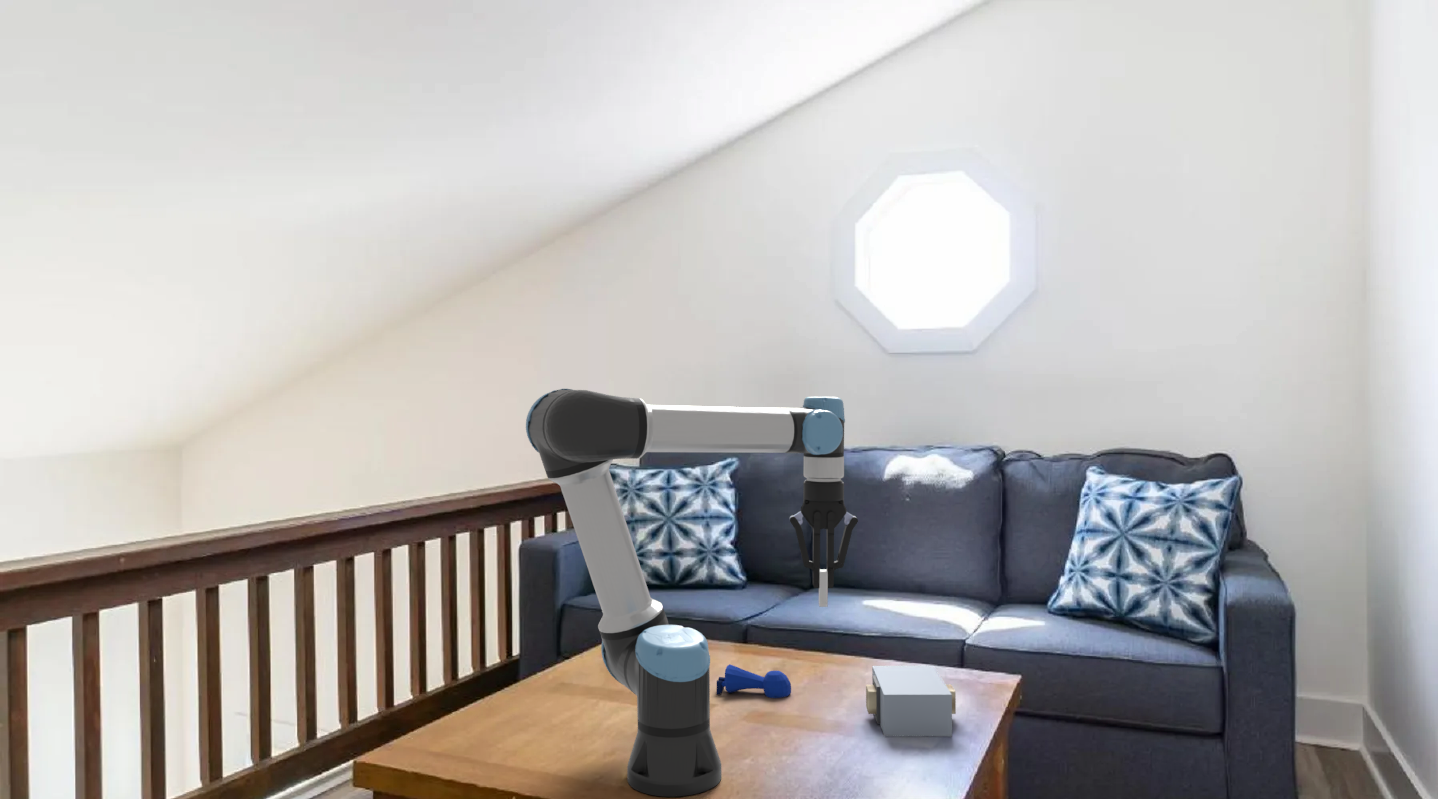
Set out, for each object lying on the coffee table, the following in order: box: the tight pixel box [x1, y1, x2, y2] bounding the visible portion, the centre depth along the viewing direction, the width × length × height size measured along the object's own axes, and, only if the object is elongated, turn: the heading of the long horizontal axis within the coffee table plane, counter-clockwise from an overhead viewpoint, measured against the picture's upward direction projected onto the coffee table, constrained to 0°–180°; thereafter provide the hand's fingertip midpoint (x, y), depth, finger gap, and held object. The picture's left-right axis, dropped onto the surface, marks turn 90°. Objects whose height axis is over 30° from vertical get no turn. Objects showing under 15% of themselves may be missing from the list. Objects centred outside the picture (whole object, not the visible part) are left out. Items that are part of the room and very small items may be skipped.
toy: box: [716, 664, 792, 699], centre depth 206 cm, size 7×6×15 cm
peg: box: [865, 684, 957, 715], centre depth 189 cm, size 4×16×4 cm, turn 88°
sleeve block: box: [871, 665, 953, 737], centre depth 189 cm, size 18×13×8 cm
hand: (823, 605), depth 189 cm, fingers closed
